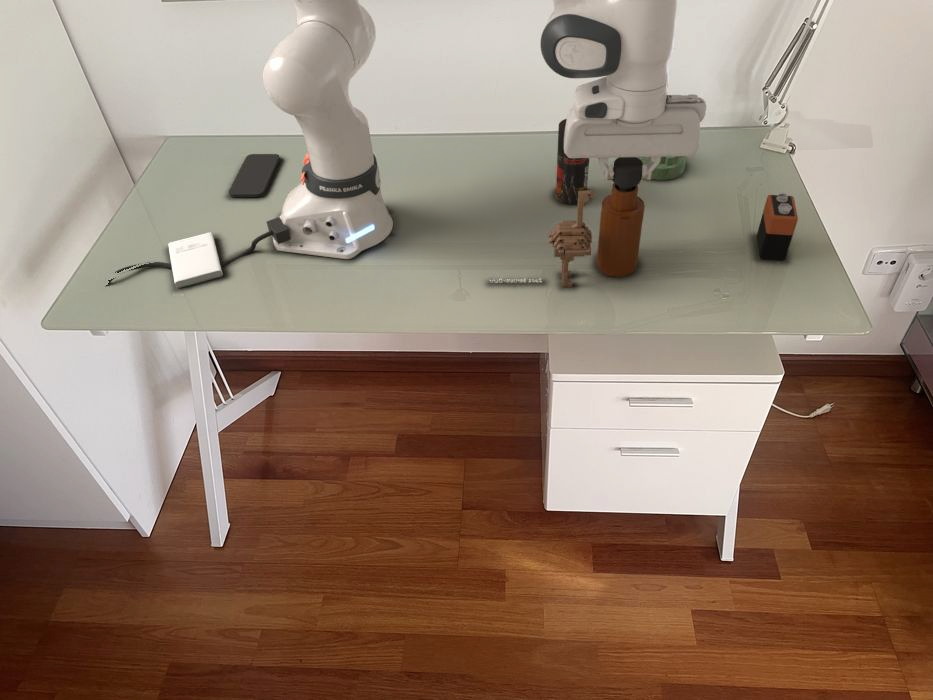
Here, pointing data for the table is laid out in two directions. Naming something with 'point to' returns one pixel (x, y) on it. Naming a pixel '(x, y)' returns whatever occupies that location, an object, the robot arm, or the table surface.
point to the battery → (776, 227)
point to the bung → (627, 172)
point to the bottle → (620, 232)
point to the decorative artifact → (666, 167)
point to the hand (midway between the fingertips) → (626, 178)
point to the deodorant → (569, 172)
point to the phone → (254, 175)
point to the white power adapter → (194, 260)
